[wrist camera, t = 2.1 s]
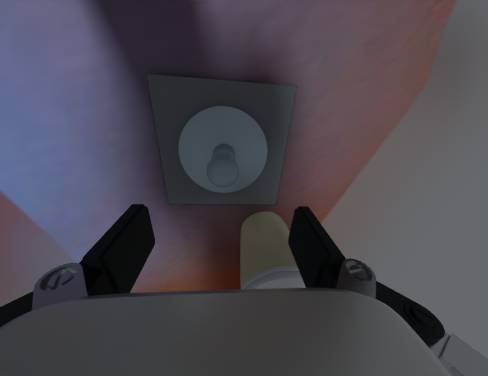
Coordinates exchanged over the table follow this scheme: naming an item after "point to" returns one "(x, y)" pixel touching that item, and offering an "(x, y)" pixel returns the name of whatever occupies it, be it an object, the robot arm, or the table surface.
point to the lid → (222, 149)
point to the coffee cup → (267, 254)
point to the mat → (210, 95)
